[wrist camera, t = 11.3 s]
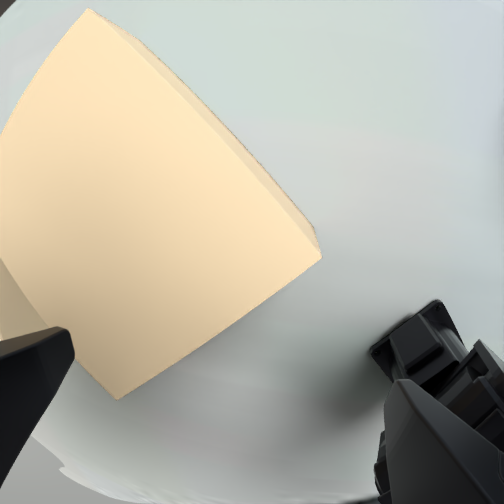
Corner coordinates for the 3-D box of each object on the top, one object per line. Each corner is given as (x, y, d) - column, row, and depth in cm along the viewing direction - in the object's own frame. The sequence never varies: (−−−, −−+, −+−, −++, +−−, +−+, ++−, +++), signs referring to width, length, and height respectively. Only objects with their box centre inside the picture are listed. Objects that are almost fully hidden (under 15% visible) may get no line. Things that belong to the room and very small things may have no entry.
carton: (313, 226, 19) (322, 257, 12) (153, 350, 23) (116, 400, 17) (139, 40, 16) (88, 7, 10) (27, 191, 21) (-28, 204, 15)
